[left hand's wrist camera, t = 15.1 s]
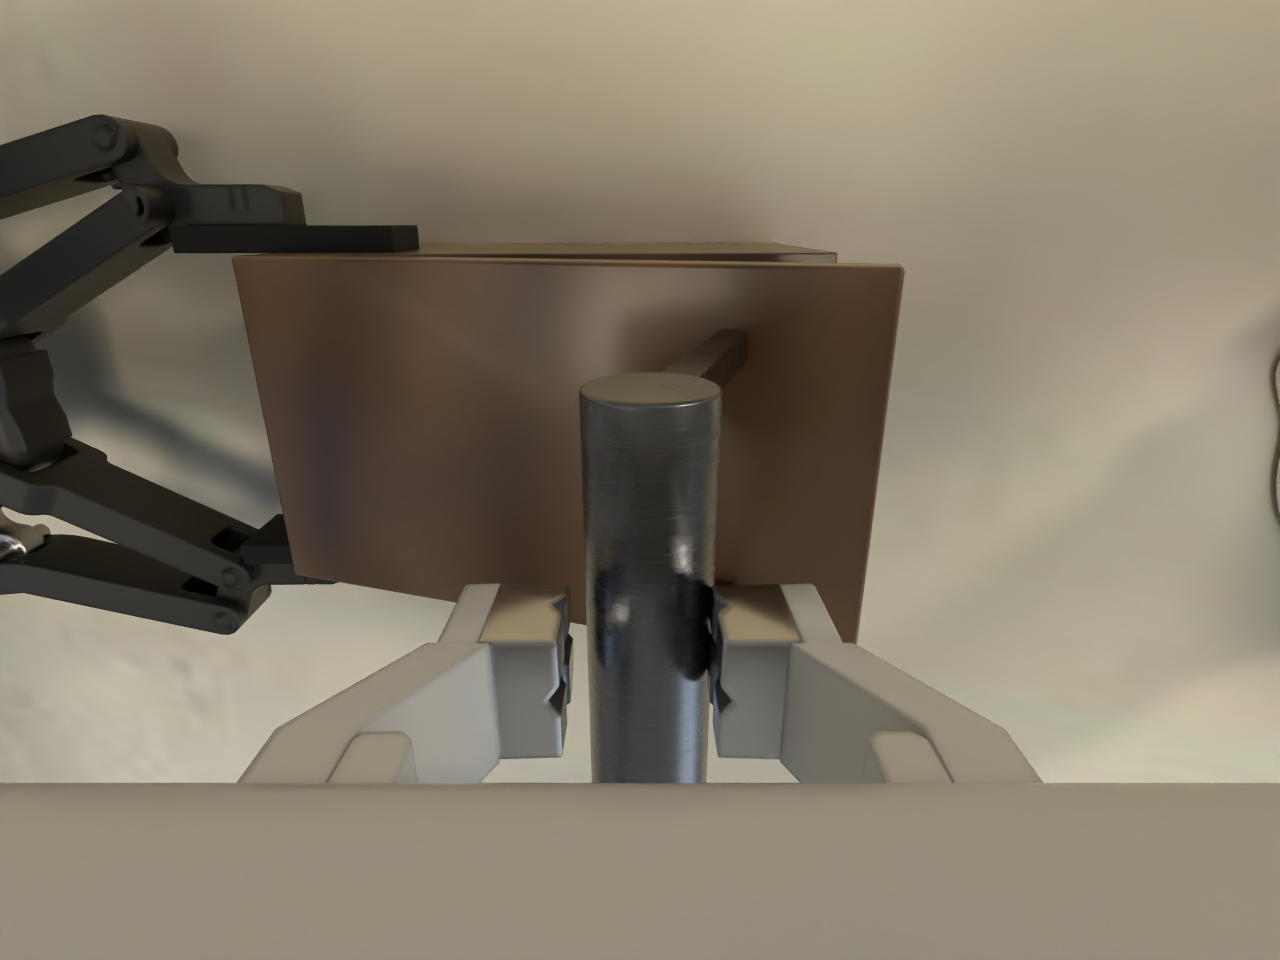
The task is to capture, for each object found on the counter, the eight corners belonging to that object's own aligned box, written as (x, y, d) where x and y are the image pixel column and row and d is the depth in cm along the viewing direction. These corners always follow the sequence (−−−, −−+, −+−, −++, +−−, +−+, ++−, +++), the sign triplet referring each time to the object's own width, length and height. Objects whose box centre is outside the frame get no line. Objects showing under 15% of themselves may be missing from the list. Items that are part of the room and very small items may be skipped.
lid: (903, 263, 15) (938, 310, 7) (854, 647, 18) (842, 957, 11) (263, 254, 20) (-128, 275, 12) (319, 559, 23) (44, 728, 15)
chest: (774, 242, 28) (838, 252, 20) (760, 463, 32) (809, 554, 23) (370, 243, 28) (257, 253, 20) (400, 466, 32) (314, 558, 23)
